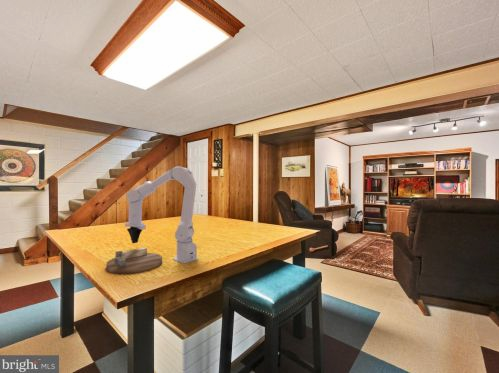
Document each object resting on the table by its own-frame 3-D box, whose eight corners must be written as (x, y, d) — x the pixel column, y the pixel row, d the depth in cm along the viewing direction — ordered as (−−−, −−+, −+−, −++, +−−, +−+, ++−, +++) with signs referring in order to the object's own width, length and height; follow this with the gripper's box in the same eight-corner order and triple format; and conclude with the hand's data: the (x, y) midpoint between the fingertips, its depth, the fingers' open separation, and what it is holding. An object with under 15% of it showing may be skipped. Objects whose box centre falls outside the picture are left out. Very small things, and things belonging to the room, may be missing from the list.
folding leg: (116, 261, 101) (116, 253, 101) (114, 259, 103) (114, 251, 103) (147, 254, 111) (147, 247, 111) (144, 253, 113) (144, 246, 113)
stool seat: (171, 264, 105) (171, 252, 105) (118, 278, 88) (119, 265, 88) (147, 254, 119) (147, 244, 119) (98, 265, 102) (98, 253, 102)
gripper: (151, 215, 113) (151, 243, 113) (134, 212, 121) (134, 239, 121) (137, 216, 107) (137, 246, 107) (121, 214, 115) (120, 241, 115)
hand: (134, 242), depth 114 cm, fingers closed
